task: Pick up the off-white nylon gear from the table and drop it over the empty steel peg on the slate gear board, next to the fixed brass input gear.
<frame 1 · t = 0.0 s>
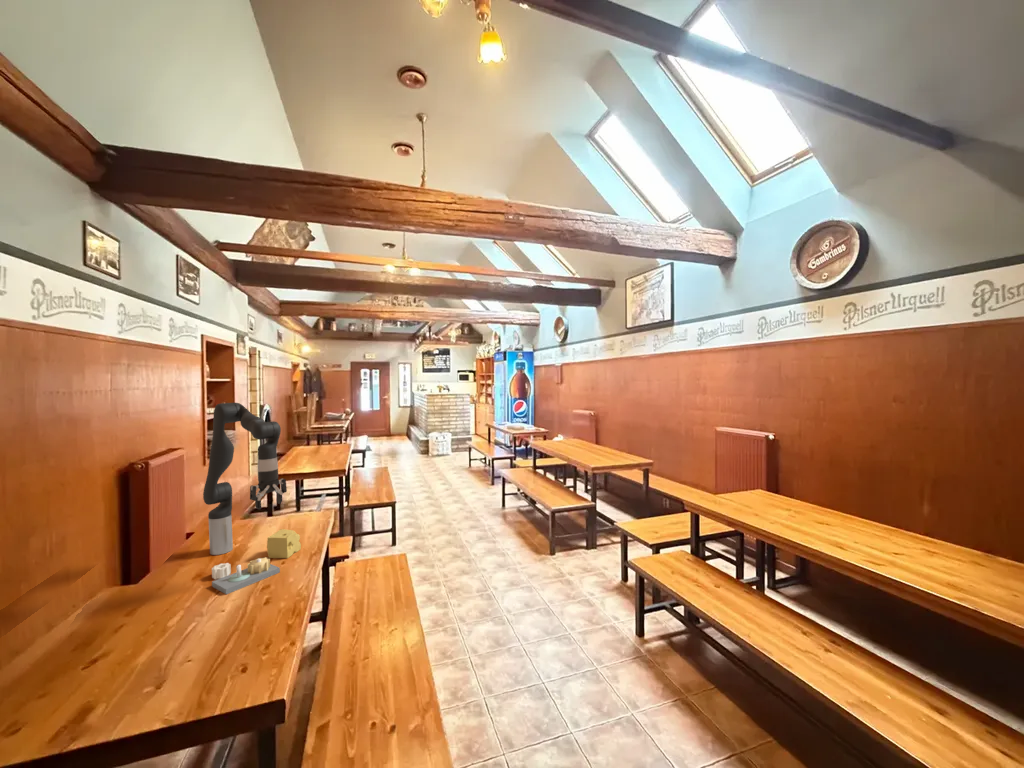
hand: (269, 506, 181), 29 cm above the table, tool pointing down, fingers open, 8 cm apart
cheese: (284, 554, 202), on the table
gear board: (247, 579, 178), on the table
nylon gear: (221, 575, 181), on the table
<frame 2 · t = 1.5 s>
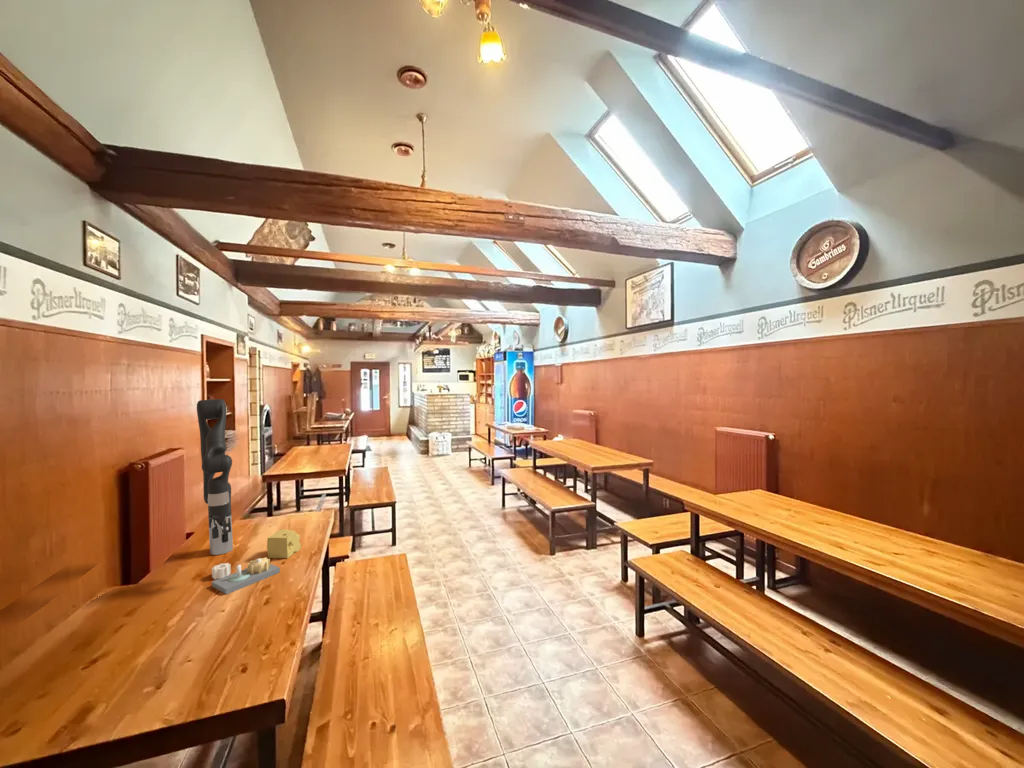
hand: (220, 540, 181), 15 cm above the table, tool pointing down, fingers open, 8 cm apart
nothing on the table moved.
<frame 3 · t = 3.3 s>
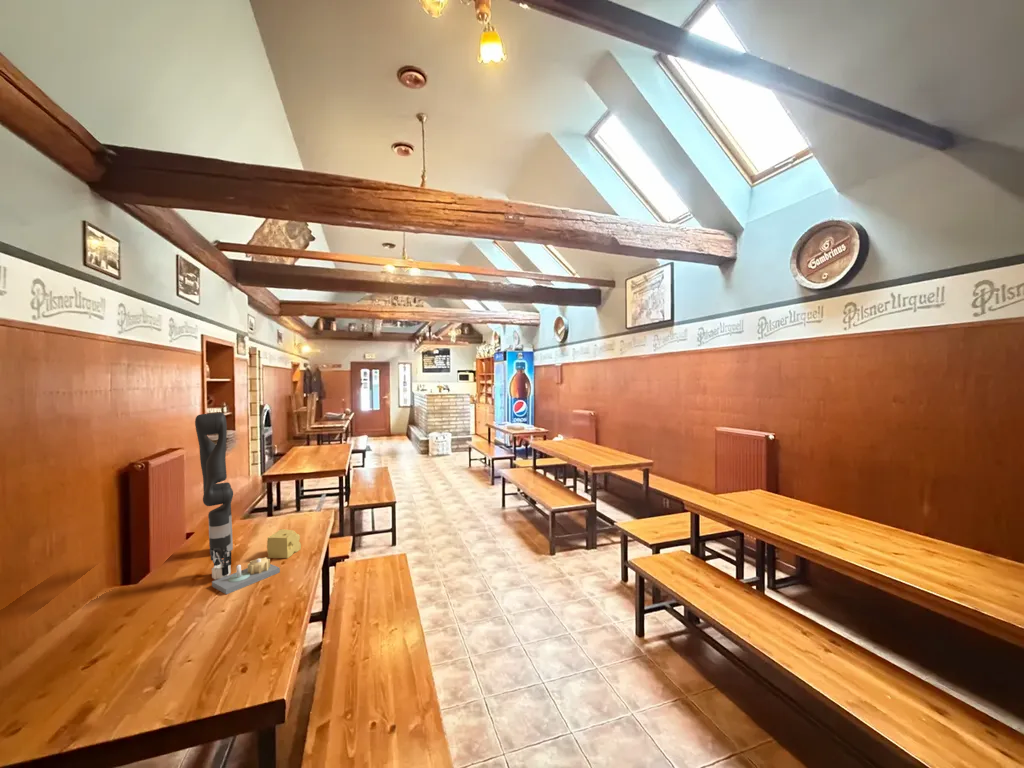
hand: (221, 572, 181), 1 cm above the table, tool pointing down, fingers closed on nylon gear, 6 cm apart
nylon gear: (221, 575, 181), on the table, touching gripper
everything else where it was.
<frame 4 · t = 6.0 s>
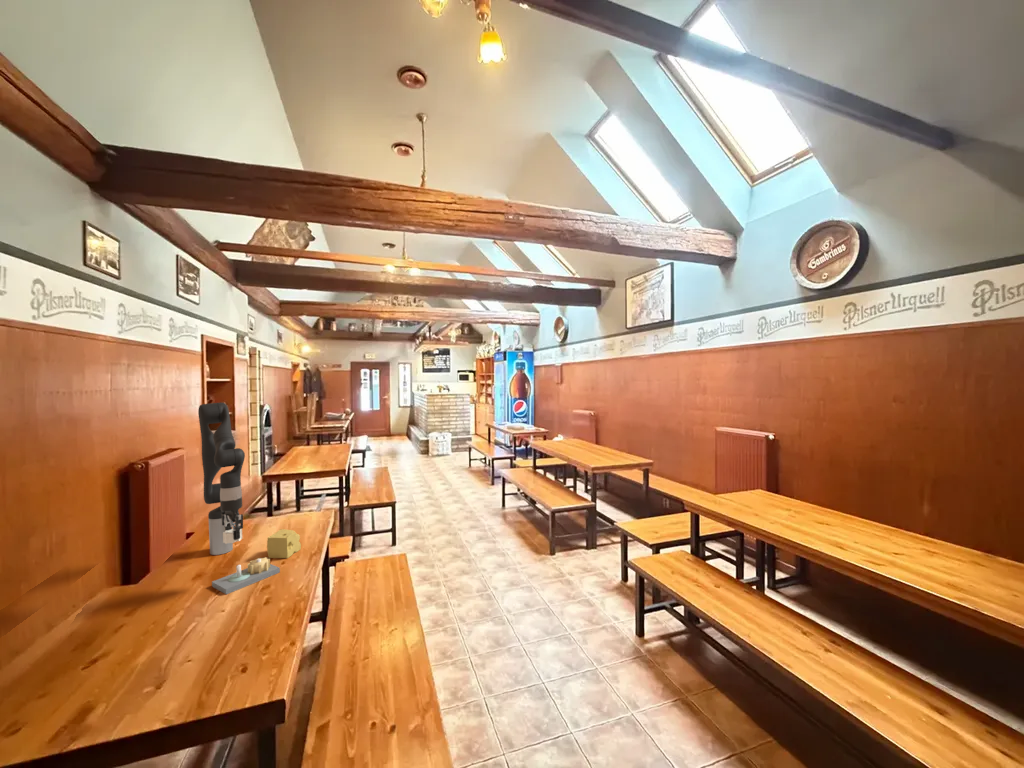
hand: (232, 537, 175), 19 cm above the table, tool pointing down, fingers closed on nylon gear, 6 cm apart
nylon gear: (232, 540, 175), point 17 cm above the table, touching gripper
everything else where it was.
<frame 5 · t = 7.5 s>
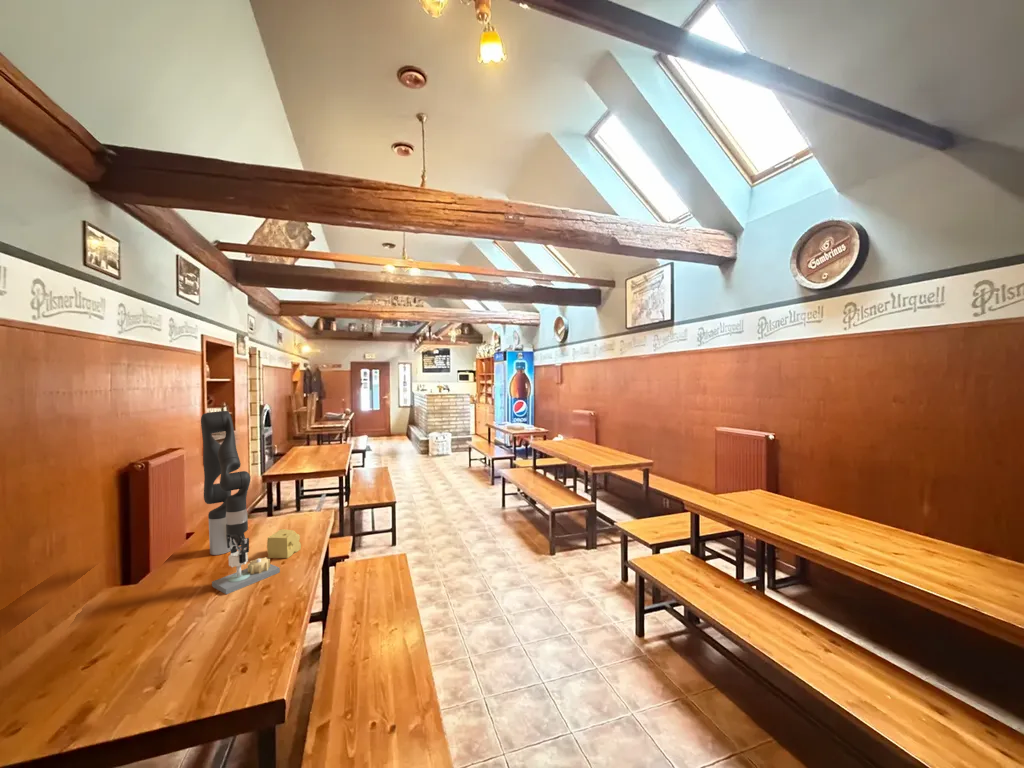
hand: (238, 560, 175), 9 cm above the table, tool pointing down, fingers closed on nylon gear, 6 cm apart
nylon gear: (238, 563, 175), point 8 cm above the table, touching gripper
everything else where it was.
when the fingers open (5 cm above the table, at t = 8.9 s): nylon gear drops 1 cm, resting on gear board.
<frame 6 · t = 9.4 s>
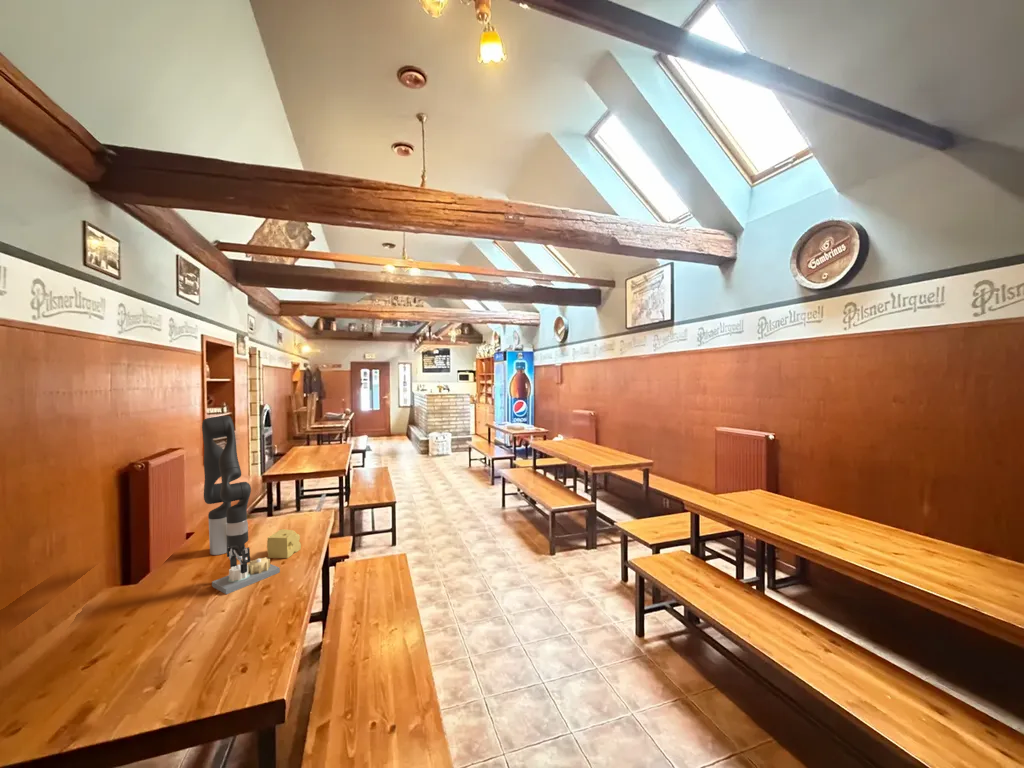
hand: (238, 570, 175), 5 cm above the table, tool pointing down, fingers open, 8 cm apart
nylon gear: (239, 577, 175), point 2 cm above the table, touching gear board
everything else where it was.
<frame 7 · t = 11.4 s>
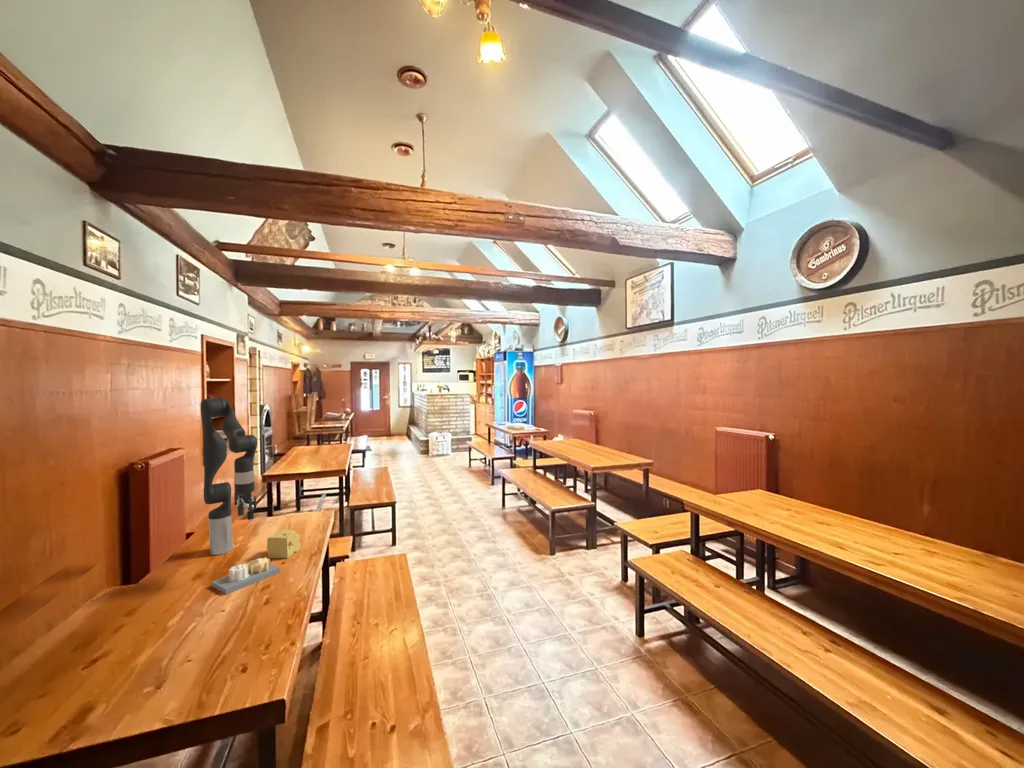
hand: (245, 517, 186), 23 cm above the table, tool pointing down, fingers open, 8 cm apart
nothing on the table moved.
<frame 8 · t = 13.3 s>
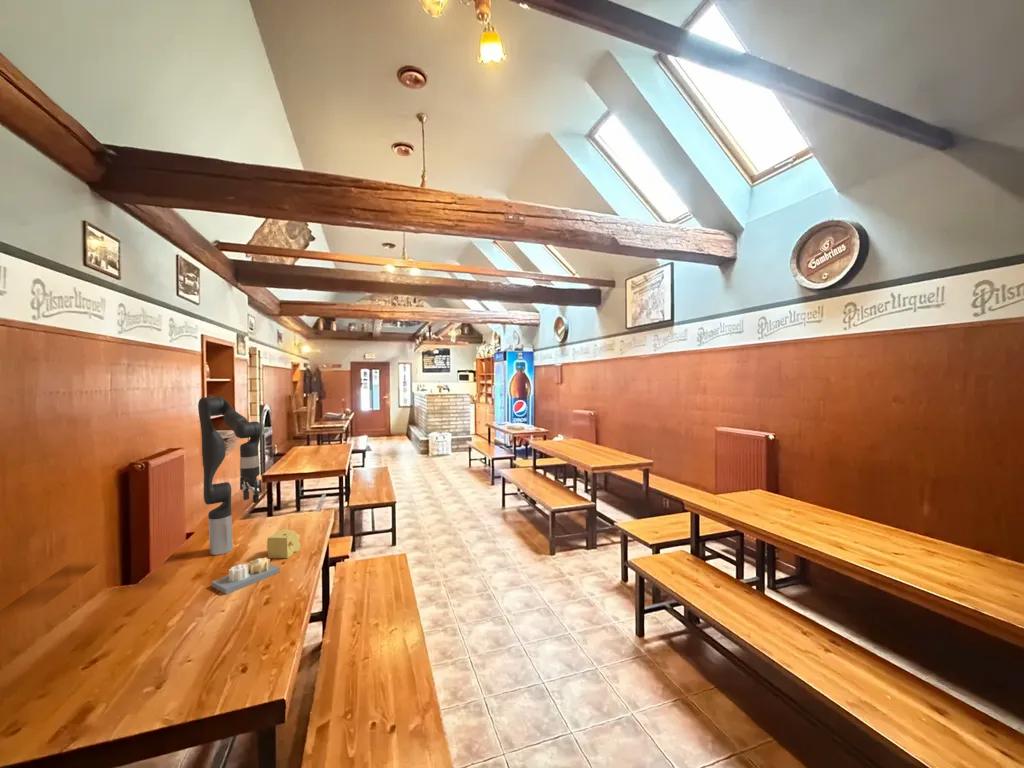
hand: (251, 501, 193), 28 cm above the table, tool pointing down, fingers open, 8 cm apart
nothing on the table moved.
at the end: nylon gear 0.0 cm from the target spot on the gear board, point 2.2 cm above the gear board's base; nylon gear tilted 0°; the gripper is holding nothing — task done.
